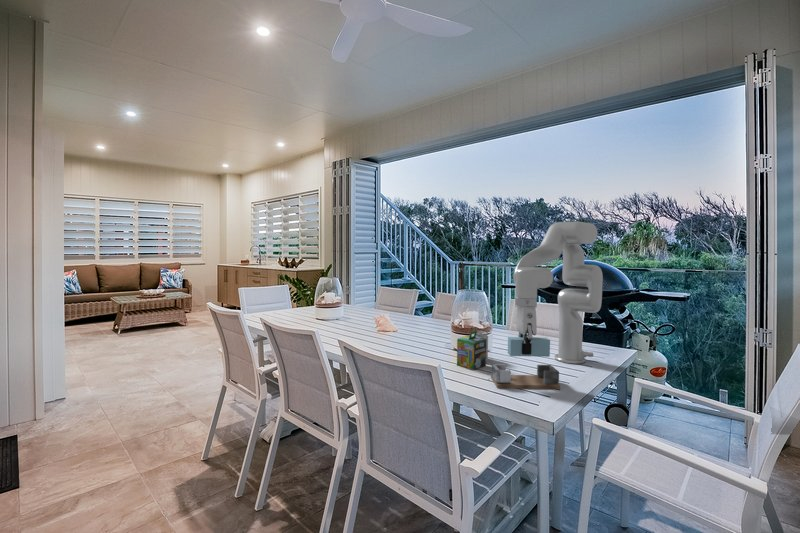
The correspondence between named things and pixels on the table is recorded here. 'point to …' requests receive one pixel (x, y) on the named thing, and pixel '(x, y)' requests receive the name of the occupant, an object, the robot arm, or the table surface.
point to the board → (534, 379)
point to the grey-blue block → (538, 347)
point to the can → (484, 335)
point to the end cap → (501, 373)
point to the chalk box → (471, 351)
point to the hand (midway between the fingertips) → (524, 352)
